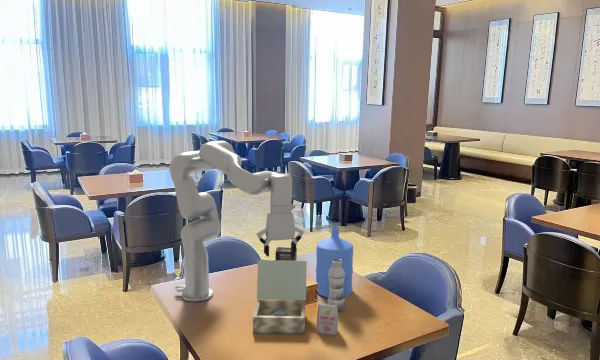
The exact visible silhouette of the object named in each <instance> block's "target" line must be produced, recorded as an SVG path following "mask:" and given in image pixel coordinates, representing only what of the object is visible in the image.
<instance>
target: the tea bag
mask: <svg viewBox="0 0 600 360" xmlns="http://www.w3.org/2000/svg"><path fill="white" fill-rule="evenodd" d="M316 313H317V315H316V334H319V335H321V334H322V335H328V336H335V337H336V336H337V333H338V331H339V311H338V309H337V306H330V305H328V304H321V303H318V304H317V311H316Z"/></svg>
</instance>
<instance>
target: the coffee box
mask: <svg viewBox="0 0 600 360" xmlns="http://www.w3.org/2000/svg"><path fill="white" fill-rule="evenodd" d="M274 255H275V258H274V260H277V261H298V259H297V258H298V257H297V256H298V249H297V247H296V251H295V254H294V255H293V254H292V253H291V247H281V246H277V247H276V249H275V252H274Z"/></svg>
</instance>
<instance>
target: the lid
mask: <svg viewBox="0 0 600 360" xmlns="http://www.w3.org/2000/svg"><path fill="white" fill-rule="evenodd" d="M307 261H308V260H297V261H277V260H275V259H273V260H270V259H269V260H268V259H266V260H265V259H263V260H262V259H259V260H257V283H256V285H257V286H256V288H257V289H256V300H292V301H307V264H308V263H307Z"/></svg>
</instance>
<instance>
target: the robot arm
mask: <svg viewBox="0 0 600 360" xmlns="http://www.w3.org/2000/svg"><path fill="white" fill-rule="evenodd" d="M241 166H242V157H241V156H240V155H239V154H237V153H235V151H234V147H233V145H232V144H231V143H229V142H227V141H225V140H217V141H214V140H213V141H209V142H205V143H203V144H202V145H201V146H200V148H199V150H194V151H186V152H185V151H184V152H181V153H178V154H177V155H175V156H174V157H173V158H172V159H171V161H170V164H169V174H170V178H171V181H172V183H173V185H174V189H175V195H176V199H177V205H178V209H179V213H180V215H181V217H182V218H183V219H186V220H191V219H192V220H193V219H196V218H199V219H197V220H195V221H192V222H188V223H187V224H185V225H184V226H183V227H182V229H181V231H180V238H181V242H182V247H183V260H184V279H185V280H184V281H185V282H184V284H183V285H179V284H178V285H177V284H176V285H175V291H176V292H177V293H181V292H182V293H181V298H182V299H183V301H186V302H190V301H191V303H194V302H196V303H197V302H198V301H199V302H203V301H207V300H209V299H211V298H212V297H213V295H214V291H213V290H212V289H211V288H210V283H209V282H210V280H209V279H210V278H209V277H210V276H209V273H210V271H209V254H208V250H207V248H206V246H205V243H207V242H209V241H212V240H214V239H216V238H217V237H218V236H219V235H220V233H221V223H220V218H219V214H218V208H217V204H216V201H215V199H214V196H213V195H211V194H210V193H209V192H205V191H203V192H199V191H198V187H197V183H196V181H195V179H194V178H193V177H192V175H191V174H194V173H200V172H205V171H209V170H211V169H216V170H218V171H219V172H221V173H223V174H225V175H226V176H227V178H228V180H229V181H230V183H231V184H232V185H233V186H234V187H235V188H237V189H239V190H240V191H242V192H244V193H245V194H249V195H253V196H256V195H259V194H262V193H267V192H270V200H269V201H270V205H269V206H270V208H269V209H270V211H267V214H266V220H265V221H266V224H265V228H263V229H262V230H260V231H258V232H257V233H256V236H257V239H258V240H259V242H261V244H263V254H265V256H266V257H267V258H269V257H270V245H269V244H270V243H271V242H273V241H287V240H291V242H290V248H291V253H292V254H293V255H294V254H295V251H296V248H297V245H298V243H299V242H300V240H301V239H302V237H303V235H304V233H305V231H304V230H303V229H301V228H299V227H297V226H296V225H295V216H294V215H295V214H294V212H293V209H296V205H295V204H293V203H292V199H293V198H292V197H293V196H292V195H293V194H292V193H293V190H292V189H293V177H292V176H291V175H290V174H288V173H277V172H274V171H272V170H271V171H270V170H262V171H259V172H254V173H251V172H250V171H248V170H246V169H243V168H242V167H241ZM296 232H297V233H298V234H297V235H296ZM264 235H265V238H263V236H264ZM199 302H198V303H199Z"/></svg>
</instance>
